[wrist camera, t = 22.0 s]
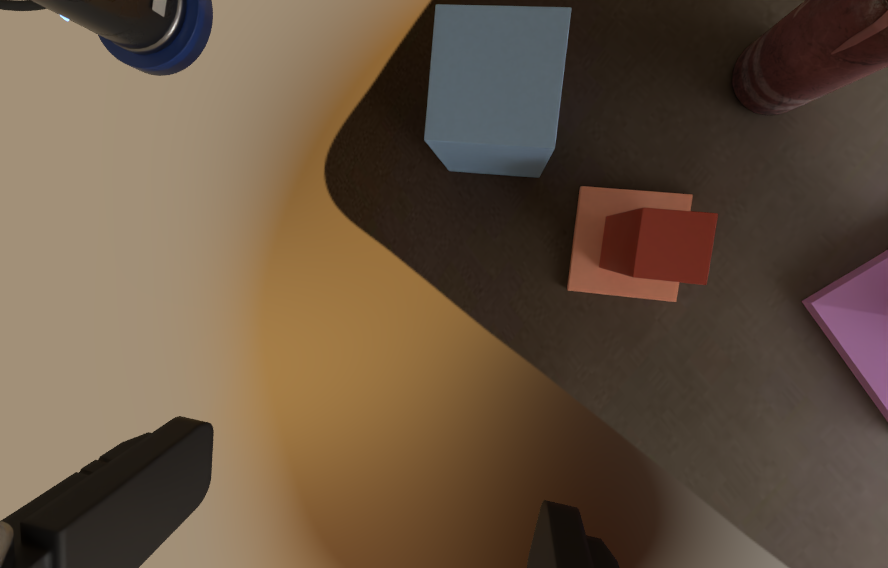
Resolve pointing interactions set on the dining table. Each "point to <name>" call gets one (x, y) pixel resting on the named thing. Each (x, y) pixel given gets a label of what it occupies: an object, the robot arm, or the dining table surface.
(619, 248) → the red post
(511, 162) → the blue stand
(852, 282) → the vase
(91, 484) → the robot arm
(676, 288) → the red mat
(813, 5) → the brown drink cup
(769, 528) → the dining table surface
